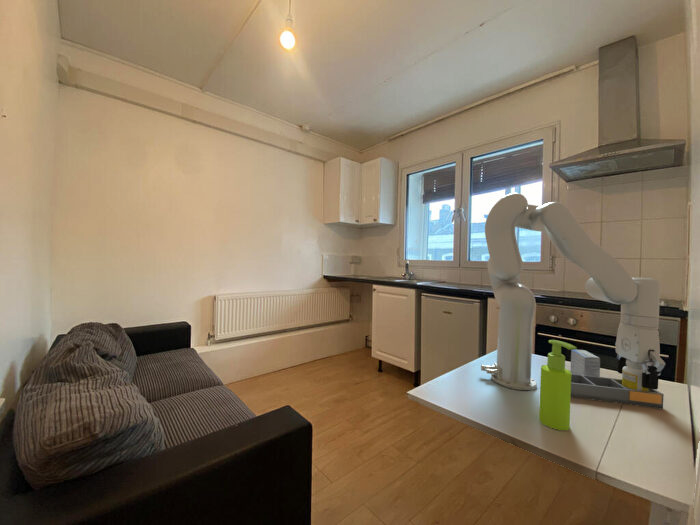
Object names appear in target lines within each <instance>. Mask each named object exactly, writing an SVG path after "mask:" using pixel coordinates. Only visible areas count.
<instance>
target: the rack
mask: <svg viewBox="0 0 700 525" xmlns="http://www.w3.org/2000/svg"><path fill="white" fill-rule="evenodd" d="M575 397H577V398H576V399H583V398H584V399H583V400H590V399H594V400H593V401H598V400H601V401H600V402H606V401H607V402H608V403H613V402H617V403H616V404H621V403H623V405H629V404H632V405H631V406H636V405H638V407H644V406H645V408H652V409H658V410H659V409H660V410H663V409H664V393H662V392H660V391H658V389H649V392H647V391H639V390H631V389H627V388H626V387H624V386H622V378H614V377H612V378H611V377H605V376H600V377H596V376H587V375H579V374H571V398H575ZM607 402H606V403H607Z"/></svg>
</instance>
